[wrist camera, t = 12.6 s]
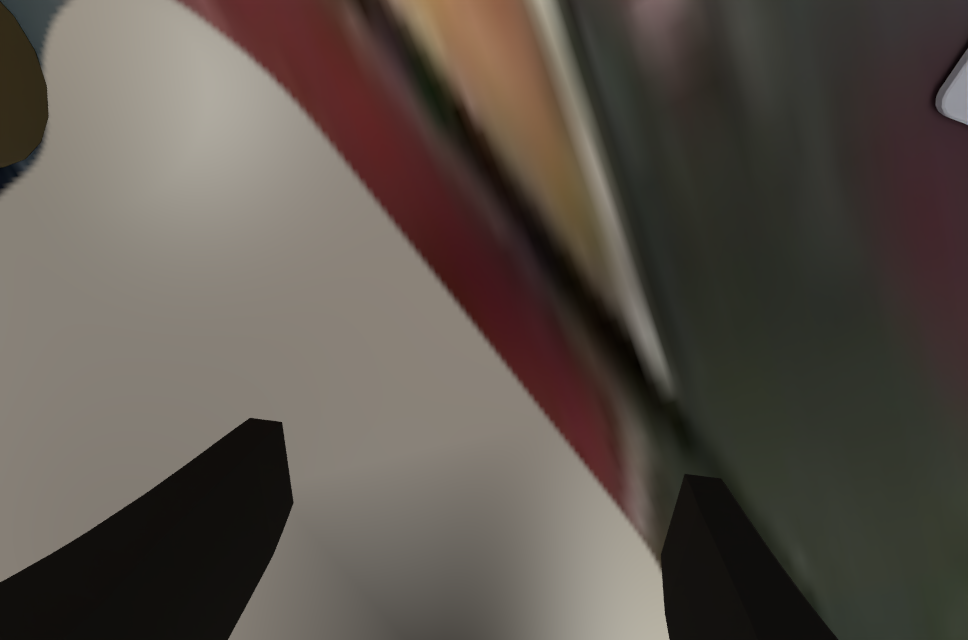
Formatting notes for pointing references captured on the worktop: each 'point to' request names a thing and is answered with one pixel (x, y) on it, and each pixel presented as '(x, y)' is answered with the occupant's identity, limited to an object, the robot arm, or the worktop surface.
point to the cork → (19, 93)
